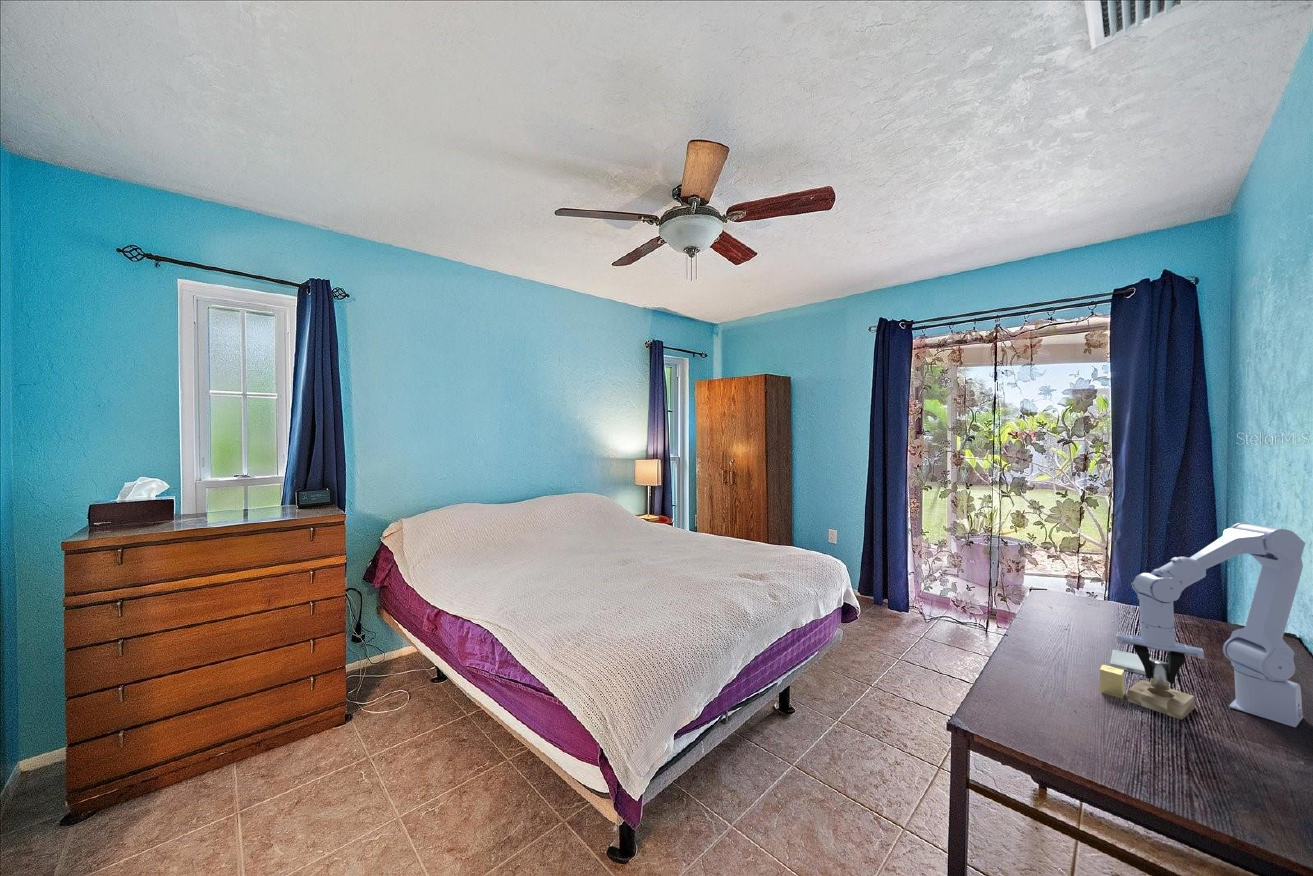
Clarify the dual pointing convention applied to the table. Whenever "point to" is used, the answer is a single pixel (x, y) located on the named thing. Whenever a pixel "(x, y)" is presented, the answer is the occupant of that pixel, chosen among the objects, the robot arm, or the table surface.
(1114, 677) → the square bit
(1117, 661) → the hard drive
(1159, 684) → the round peg
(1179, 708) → the socket block
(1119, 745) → the table surface
